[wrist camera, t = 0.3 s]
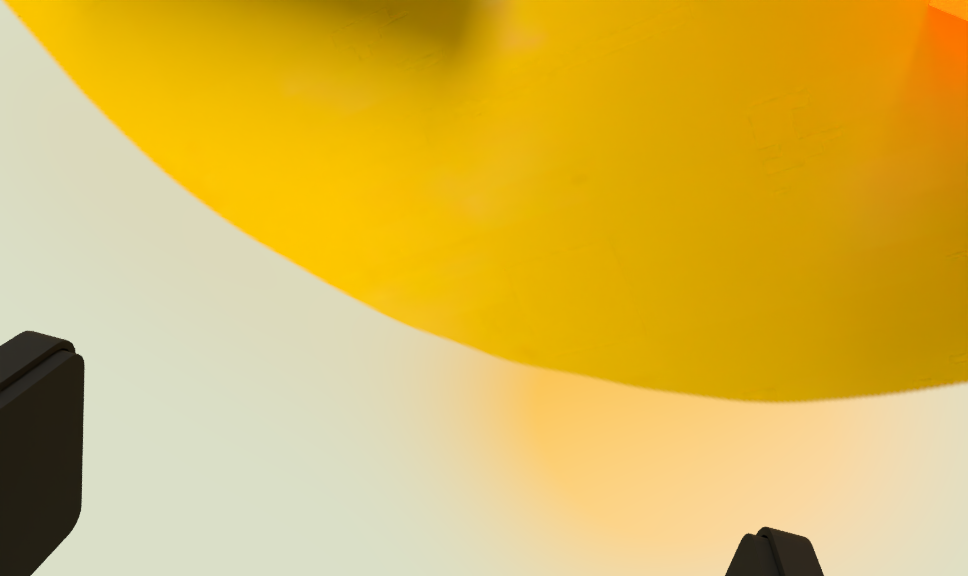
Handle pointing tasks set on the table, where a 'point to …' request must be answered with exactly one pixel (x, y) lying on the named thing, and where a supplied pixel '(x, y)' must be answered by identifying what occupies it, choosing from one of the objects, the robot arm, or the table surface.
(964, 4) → the orange juice
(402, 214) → the table surface
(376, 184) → the table surface
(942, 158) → the table surface
